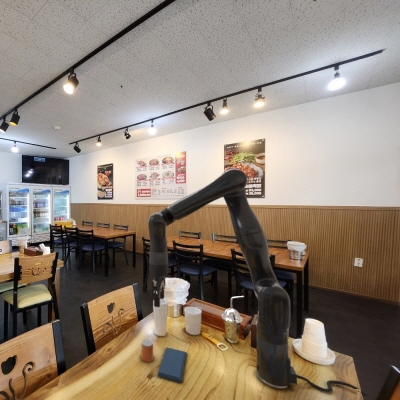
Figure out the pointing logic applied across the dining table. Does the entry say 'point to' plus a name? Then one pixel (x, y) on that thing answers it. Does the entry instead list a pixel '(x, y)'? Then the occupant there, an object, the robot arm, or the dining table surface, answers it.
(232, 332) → the cup with straw
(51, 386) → the dining table surface
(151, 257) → the robot arm
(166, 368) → the blue flat rectangular block
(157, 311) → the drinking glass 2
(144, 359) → the pill bottle
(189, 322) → the white cup
